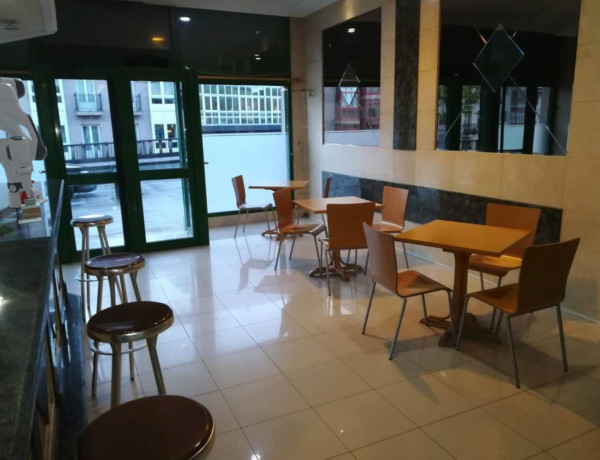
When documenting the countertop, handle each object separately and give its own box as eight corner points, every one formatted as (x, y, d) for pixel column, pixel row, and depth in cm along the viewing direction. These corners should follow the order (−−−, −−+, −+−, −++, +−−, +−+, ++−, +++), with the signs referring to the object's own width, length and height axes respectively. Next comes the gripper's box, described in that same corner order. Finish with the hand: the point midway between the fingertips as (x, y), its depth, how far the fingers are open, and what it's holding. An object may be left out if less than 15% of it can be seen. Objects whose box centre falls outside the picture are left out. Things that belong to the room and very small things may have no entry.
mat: (18, 220, 236) (18, 220, 236) (41, 217, 241) (40, 216, 241) (18, 224, 227) (18, 223, 227) (42, 221, 232) (42, 220, 232)
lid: (21, 208, 245) (19, 199, 244) (39, 206, 249) (38, 196, 248) (22, 211, 238) (20, 201, 237) (40, 208, 242) (39, 199, 241)
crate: (23, 216, 246) (21, 206, 245) (40, 213, 250) (39, 204, 249) (24, 218, 240) (22, 209, 238) (41, 216, 243) (40, 206, 242)
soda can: (30, 212, 253) (26, 190, 250) (19, 212, 255) (15, 191, 252) (40, 210, 260) (36, 188, 257) (29, 210, 262) (25, 188, 258)
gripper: (16, 168, 246) (21, 194, 249) (16, 171, 228) (22, 199, 232) (29, 166, 249) (35, 192, 252) (31, 169, 231) (36, 197, 235)
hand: (29, 195), depth 242 cm, fingers open, 8 cm apart
